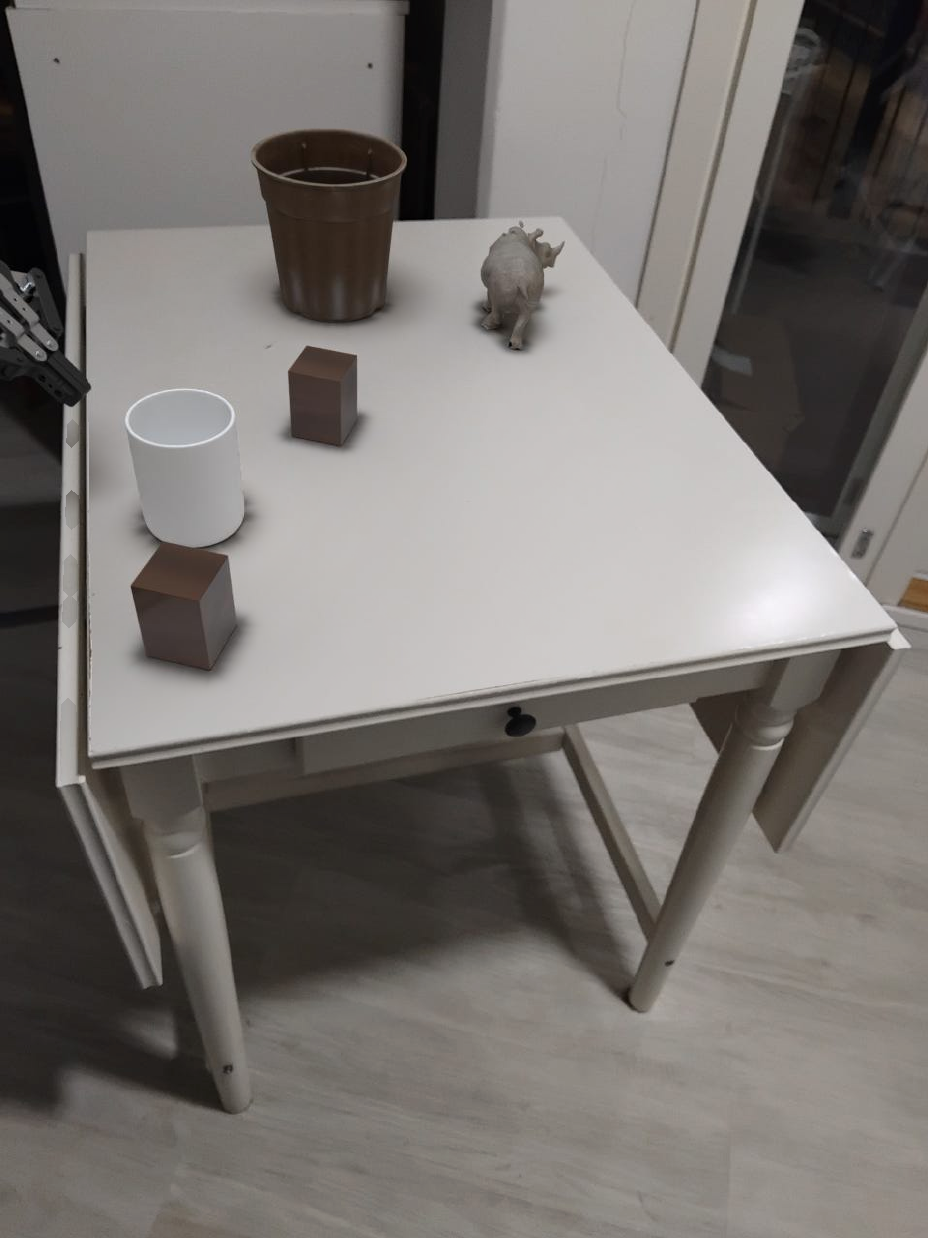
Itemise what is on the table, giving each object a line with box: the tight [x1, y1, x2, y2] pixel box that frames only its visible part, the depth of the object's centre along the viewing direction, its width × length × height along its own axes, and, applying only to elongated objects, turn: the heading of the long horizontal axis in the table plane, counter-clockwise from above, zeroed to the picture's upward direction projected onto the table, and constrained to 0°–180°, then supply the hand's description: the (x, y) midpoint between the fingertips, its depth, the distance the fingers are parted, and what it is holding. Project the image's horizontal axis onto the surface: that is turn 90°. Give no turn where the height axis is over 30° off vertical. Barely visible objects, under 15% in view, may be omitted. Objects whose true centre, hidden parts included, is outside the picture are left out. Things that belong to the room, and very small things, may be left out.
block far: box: [287, 345, 358, 447], centre depth 89 cm, size 5×5×7 cm
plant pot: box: [250, 128, 408, 323], centre depth 105 cm, size 16×16×16 cm
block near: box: [130, 541, 238, 671], centre depth 68 cm, size 5×5×7 cm
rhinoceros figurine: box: [480, 220, 566, 351], centre depth 108 cm, size 8×14×15 cm
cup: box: [124, 388, 245, 549], centre depth 78 cm, size 8×12×10 cm
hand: (81, 397), depth 77 cm, fingers closed
